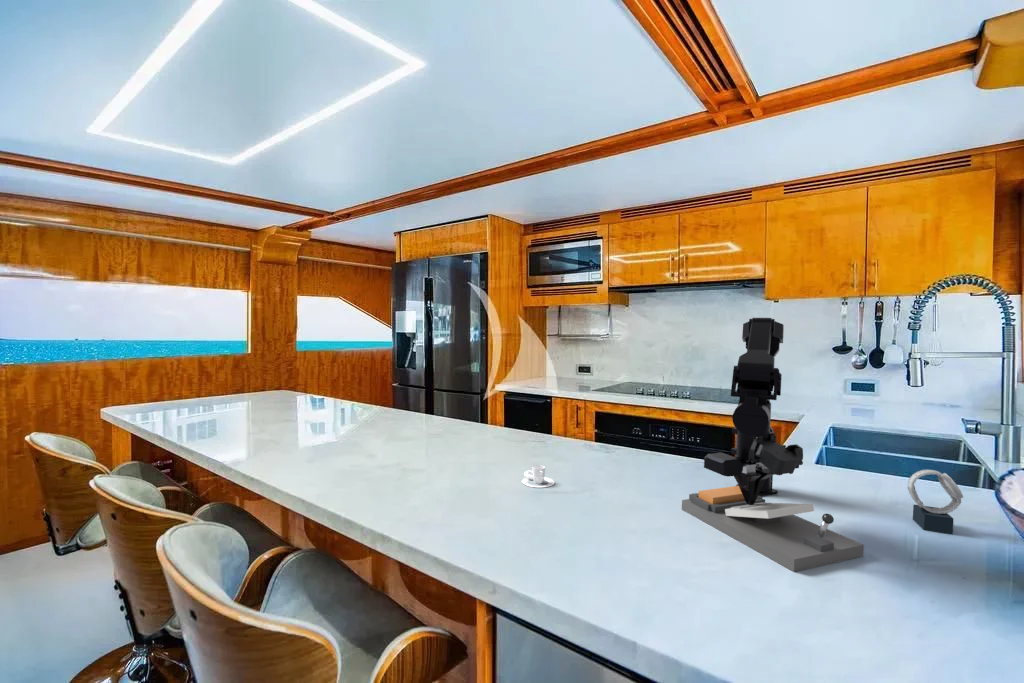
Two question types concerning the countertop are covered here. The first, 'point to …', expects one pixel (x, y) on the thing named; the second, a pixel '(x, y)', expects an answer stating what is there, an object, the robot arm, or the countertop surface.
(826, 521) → the toggle lever
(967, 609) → the countertop surface
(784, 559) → the panel
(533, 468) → the teacup and saucer
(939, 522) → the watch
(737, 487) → the push button
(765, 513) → the rocker switch
